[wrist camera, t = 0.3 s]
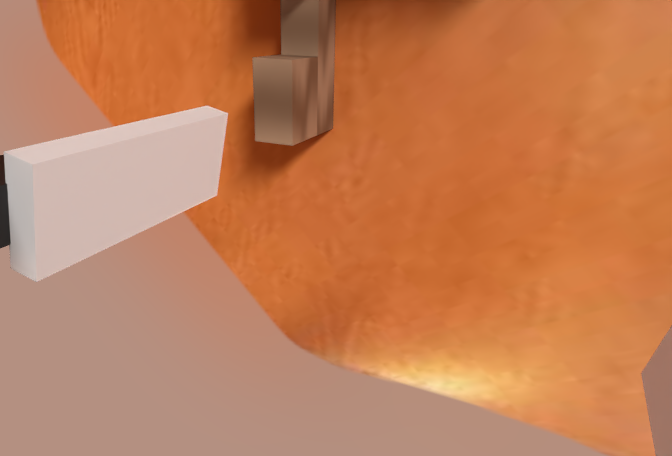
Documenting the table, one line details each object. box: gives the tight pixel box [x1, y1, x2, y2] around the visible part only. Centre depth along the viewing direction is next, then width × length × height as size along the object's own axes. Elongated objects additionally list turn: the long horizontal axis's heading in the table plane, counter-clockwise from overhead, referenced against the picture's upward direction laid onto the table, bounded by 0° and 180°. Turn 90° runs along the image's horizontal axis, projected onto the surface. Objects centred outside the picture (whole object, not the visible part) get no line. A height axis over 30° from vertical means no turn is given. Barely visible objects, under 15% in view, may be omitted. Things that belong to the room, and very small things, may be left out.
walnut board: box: [253, 0, 336, 146], centre depth 37 cm, size 16×3×7 cm, turn 178°
